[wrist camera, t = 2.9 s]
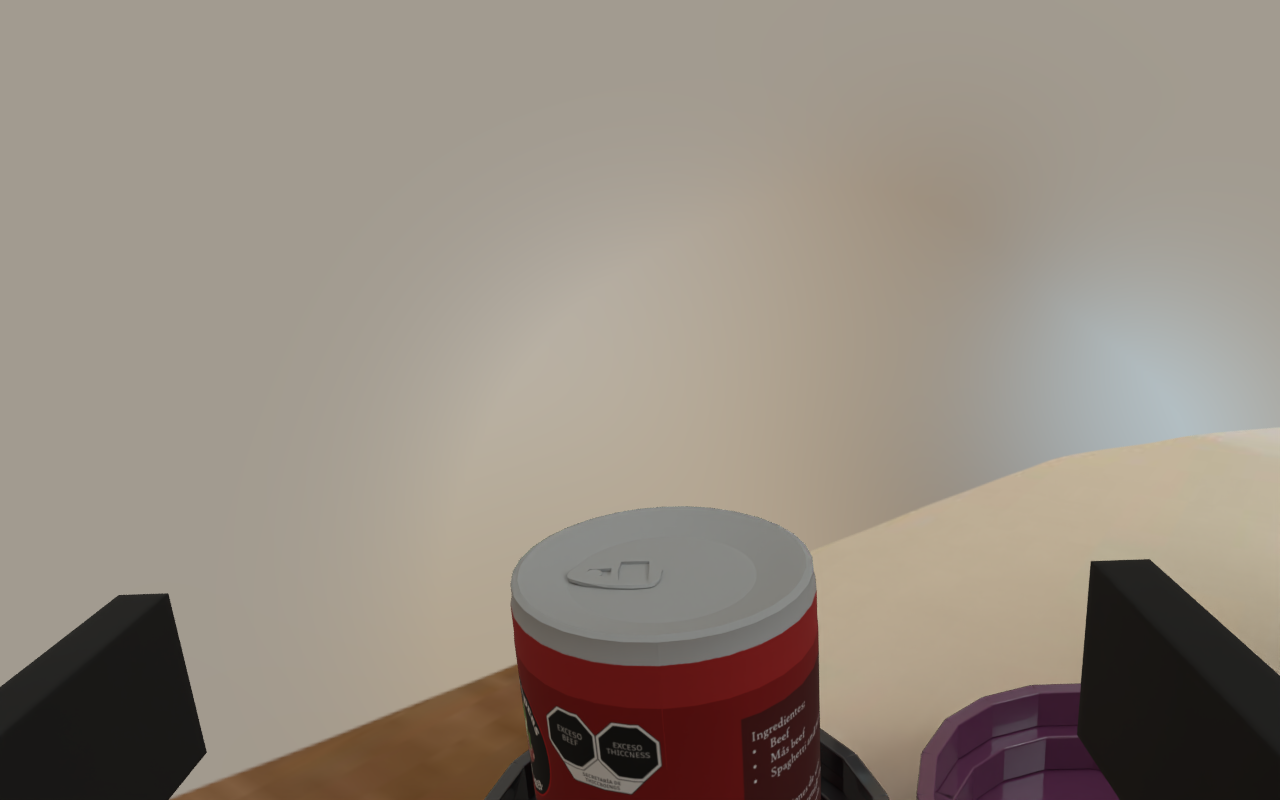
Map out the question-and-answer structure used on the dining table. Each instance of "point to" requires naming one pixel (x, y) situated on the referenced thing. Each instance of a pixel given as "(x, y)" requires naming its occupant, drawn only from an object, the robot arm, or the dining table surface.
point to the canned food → (670, 658)
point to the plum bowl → (1013, 750)
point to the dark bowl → (844, 776)
